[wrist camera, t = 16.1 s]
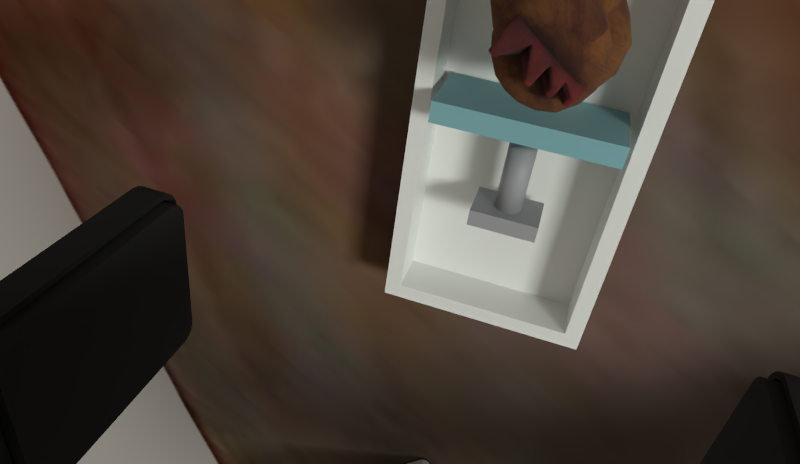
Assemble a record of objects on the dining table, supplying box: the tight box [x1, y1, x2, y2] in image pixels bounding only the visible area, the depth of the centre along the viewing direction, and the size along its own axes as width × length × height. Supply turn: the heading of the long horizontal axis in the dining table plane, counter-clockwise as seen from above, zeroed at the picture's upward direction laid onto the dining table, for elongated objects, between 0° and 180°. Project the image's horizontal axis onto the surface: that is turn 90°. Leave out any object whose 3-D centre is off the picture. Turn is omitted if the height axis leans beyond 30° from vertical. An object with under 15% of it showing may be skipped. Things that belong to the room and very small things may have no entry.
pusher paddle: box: [428, 73, 630, 243], centre depth 35 cm, size 10×7×5 cm
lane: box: [385, 0, 715, 350], centre depth 35 cm, size 13×26×4 cm, turn 173°
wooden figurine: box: [488, 0, 632, 113], centre depth 26 cm, size 7×6×15 cm
